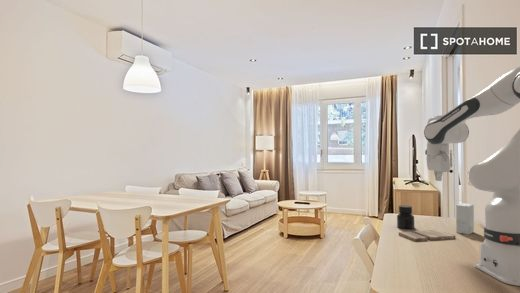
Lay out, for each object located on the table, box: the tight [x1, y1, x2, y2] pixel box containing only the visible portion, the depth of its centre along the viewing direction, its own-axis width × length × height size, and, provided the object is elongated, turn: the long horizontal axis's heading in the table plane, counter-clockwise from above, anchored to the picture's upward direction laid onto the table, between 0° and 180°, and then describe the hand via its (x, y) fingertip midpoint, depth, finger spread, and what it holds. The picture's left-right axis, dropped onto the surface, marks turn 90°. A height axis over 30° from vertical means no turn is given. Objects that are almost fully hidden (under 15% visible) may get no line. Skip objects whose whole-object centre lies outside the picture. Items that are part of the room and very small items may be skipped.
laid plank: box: [398, 230, 429, 243], centre depth 151 cm, size 7×12×2 cm, turn 12°
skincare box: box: [455, 202, 475, 236], centre depth 161 cm, size 8×6×15 cm
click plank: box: [412, 229, 456, 241], centre depth 154 cm, size 2×12×14 cm
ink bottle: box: [396, 204, 415, 230], centre depth 173 cm, size 10×9×12 cm
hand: (438, 180), depth 142 cm, fingers closed
